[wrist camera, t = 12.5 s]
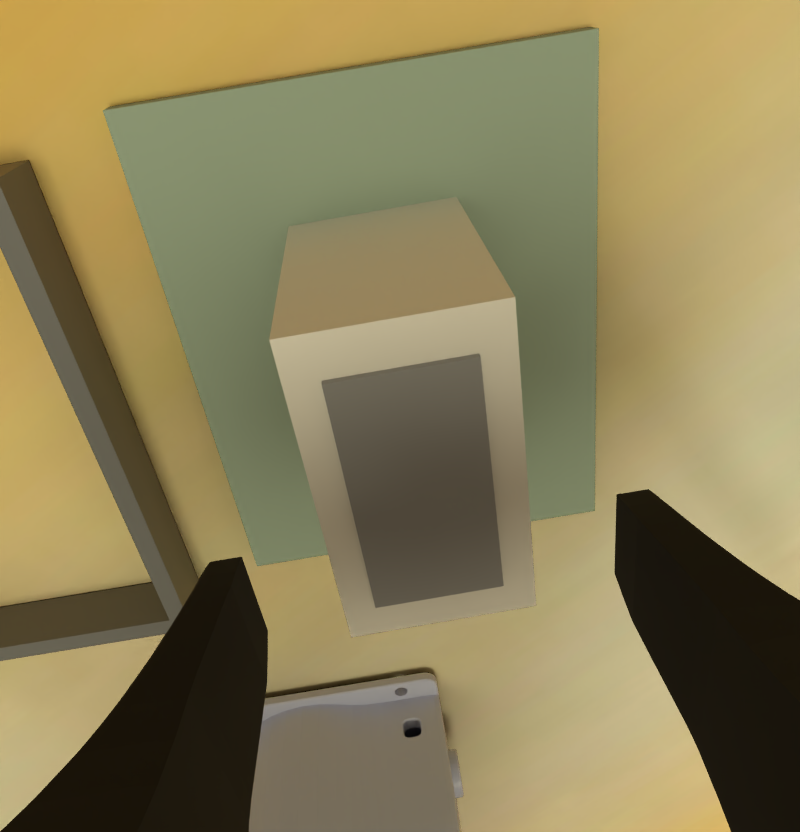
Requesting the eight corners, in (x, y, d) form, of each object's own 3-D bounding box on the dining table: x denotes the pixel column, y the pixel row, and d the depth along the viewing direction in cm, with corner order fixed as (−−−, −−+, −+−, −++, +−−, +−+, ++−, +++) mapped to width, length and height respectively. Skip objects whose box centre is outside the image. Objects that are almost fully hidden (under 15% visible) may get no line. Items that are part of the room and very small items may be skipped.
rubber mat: (590, 26, 17) (598, 28, 17) (589, 500, 25) (594, 510, 25) (109, 106, 17) (102, 110, 17) (258, 554, 25) (257, 566, 25)
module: (456, 196, 19) (516, 300, 13) (482, 443, 23) (537, 610, 17) (288, 225, 19) (268, 343, 13) (345, 467, 23) (351, 642, 17)
